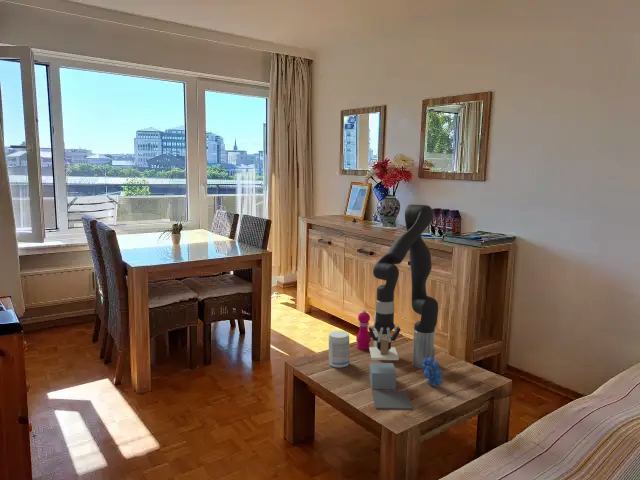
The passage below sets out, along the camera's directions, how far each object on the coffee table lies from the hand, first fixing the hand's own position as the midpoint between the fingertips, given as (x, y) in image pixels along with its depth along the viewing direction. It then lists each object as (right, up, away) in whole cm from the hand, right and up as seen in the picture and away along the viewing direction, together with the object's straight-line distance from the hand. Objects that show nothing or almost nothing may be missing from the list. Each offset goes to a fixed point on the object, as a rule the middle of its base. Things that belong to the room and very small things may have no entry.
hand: (383, 349), depth 197 cm
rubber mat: (+2, -17, -11) cm, 21 cm away
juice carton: (+3, -10, +31) cm, 33 cm away
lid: (0, -2, 0) cm, 2 cm away
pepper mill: (-5, -9, +41) cm, 42 cm away
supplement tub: (-18, -12, +21) cm, 30 cm away
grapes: (+20, -16, +1) cm, 25 cm away
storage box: (0, -15, +3) cm, 15 cm away
